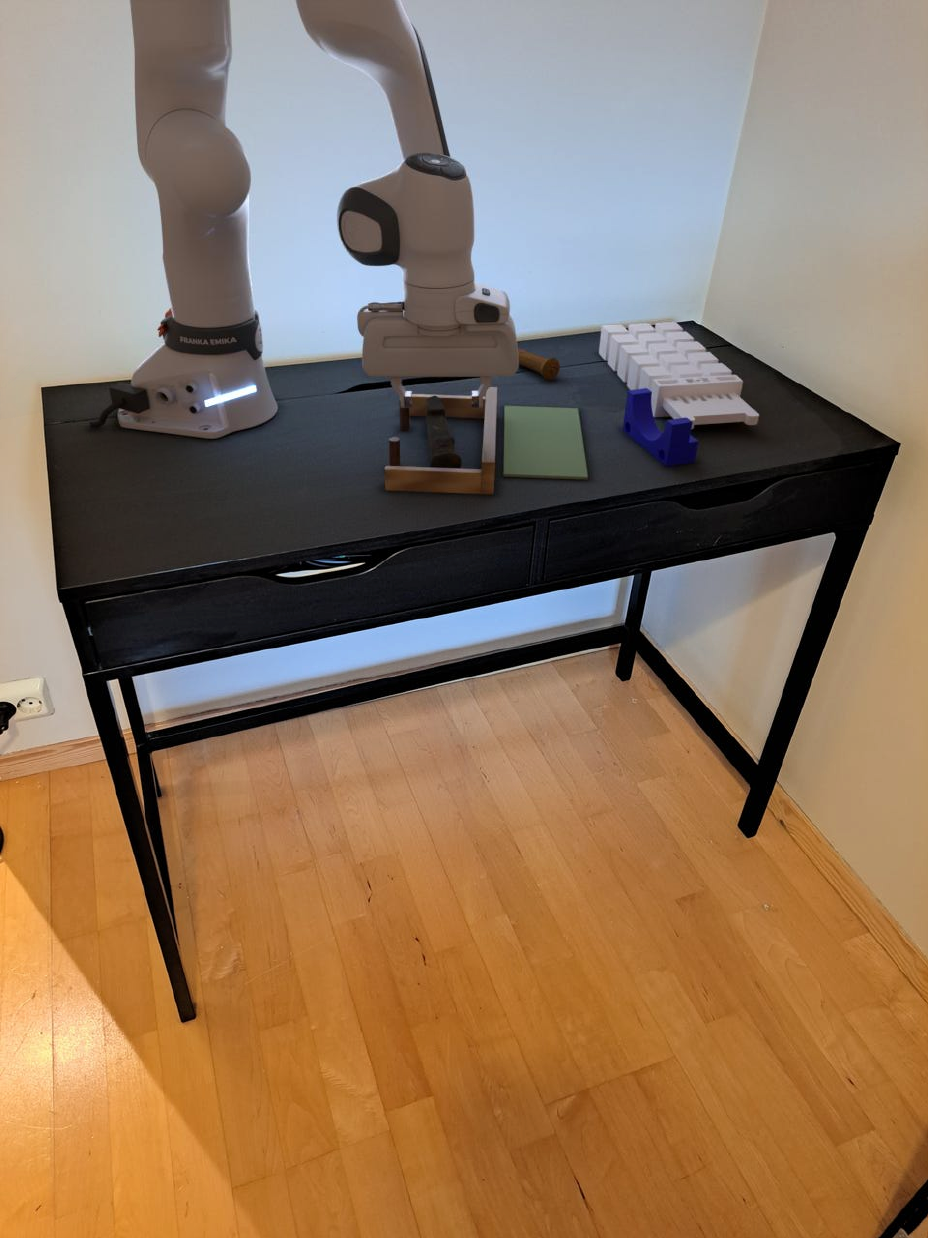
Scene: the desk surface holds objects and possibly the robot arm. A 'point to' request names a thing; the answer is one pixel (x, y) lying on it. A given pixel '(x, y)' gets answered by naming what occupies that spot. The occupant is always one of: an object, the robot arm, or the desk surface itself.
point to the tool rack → (446, 477)
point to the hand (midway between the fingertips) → (441, 406)
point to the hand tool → (440, 436)
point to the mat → (543, 443)
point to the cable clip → (658, 431)
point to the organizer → (675, 373)
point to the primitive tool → (539, 364)
